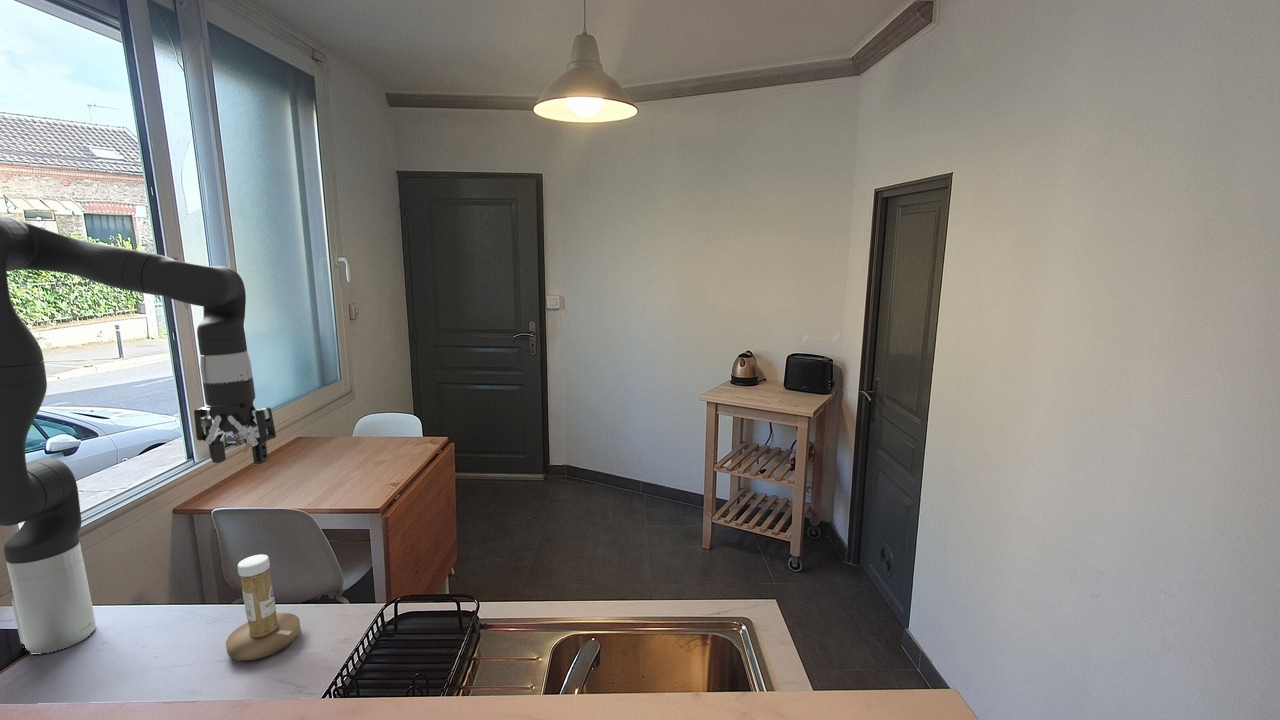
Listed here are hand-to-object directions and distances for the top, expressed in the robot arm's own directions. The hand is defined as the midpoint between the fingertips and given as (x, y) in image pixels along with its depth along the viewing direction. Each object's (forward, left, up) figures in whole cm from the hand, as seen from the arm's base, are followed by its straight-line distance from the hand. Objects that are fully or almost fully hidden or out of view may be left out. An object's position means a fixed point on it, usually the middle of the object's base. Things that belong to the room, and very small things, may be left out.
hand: (240, 462), depth 109 cm
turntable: (+9, -10, -29) cm, 32 cm away
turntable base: (+9, -9, -30) cm, 33 cm away
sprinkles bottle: (+9, -9, -28) cm, 31 cm away
